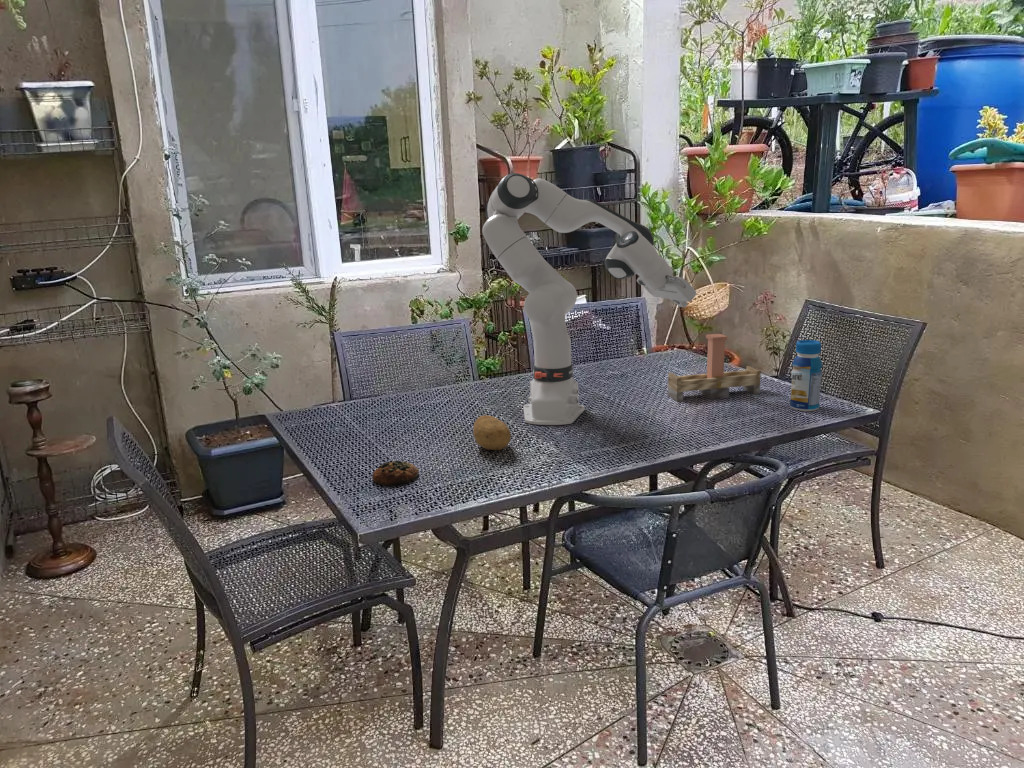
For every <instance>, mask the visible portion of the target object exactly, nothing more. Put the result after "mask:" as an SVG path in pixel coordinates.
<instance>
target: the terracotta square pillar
mask: <svg viewBox="0 0 1024 768" xmlns="http://www.w3.org/2000/svg"><path fill="white" fill-rule="evenodd" d="M705 339H707V359H706V361H707V362H706V374H707V378H714V377H723V375H724V372H725V345H726V341H727V340H728V336H727V335H725V334H721V333H711V334H705Z"/></svg>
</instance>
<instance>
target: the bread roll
mask: <svg viewBox="0 0 1024 768" xmlns="http://www.w3.org/2000/svg"><path fill="white" fill-rule="evenodd" d="M419 473H420V472H419V468H418V467H416V465H414V464H412V463H411V462H407V461H401V460H400V461H399V460H393V461H388V462H384V463H382V464H380V465H379V466H378V467H377V468H376V469H375V470H374V471H373V473H372V477H371V479H372V481H373V482H375V483H376V484H379V485H380V486H381V485H382V486H386V487H396V486H397V487H398V486H402V485H407V483H410V482H412V481H414V480H416V478H417V477H418V476H419Z"/></svg>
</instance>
